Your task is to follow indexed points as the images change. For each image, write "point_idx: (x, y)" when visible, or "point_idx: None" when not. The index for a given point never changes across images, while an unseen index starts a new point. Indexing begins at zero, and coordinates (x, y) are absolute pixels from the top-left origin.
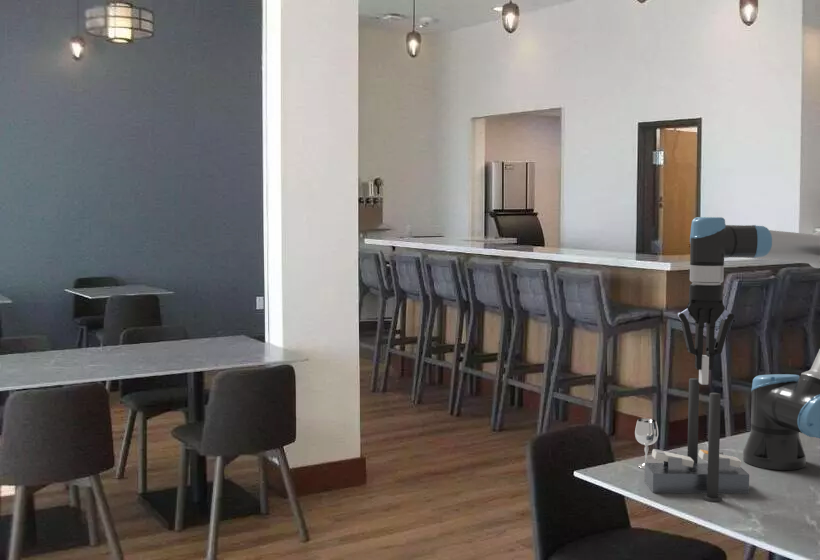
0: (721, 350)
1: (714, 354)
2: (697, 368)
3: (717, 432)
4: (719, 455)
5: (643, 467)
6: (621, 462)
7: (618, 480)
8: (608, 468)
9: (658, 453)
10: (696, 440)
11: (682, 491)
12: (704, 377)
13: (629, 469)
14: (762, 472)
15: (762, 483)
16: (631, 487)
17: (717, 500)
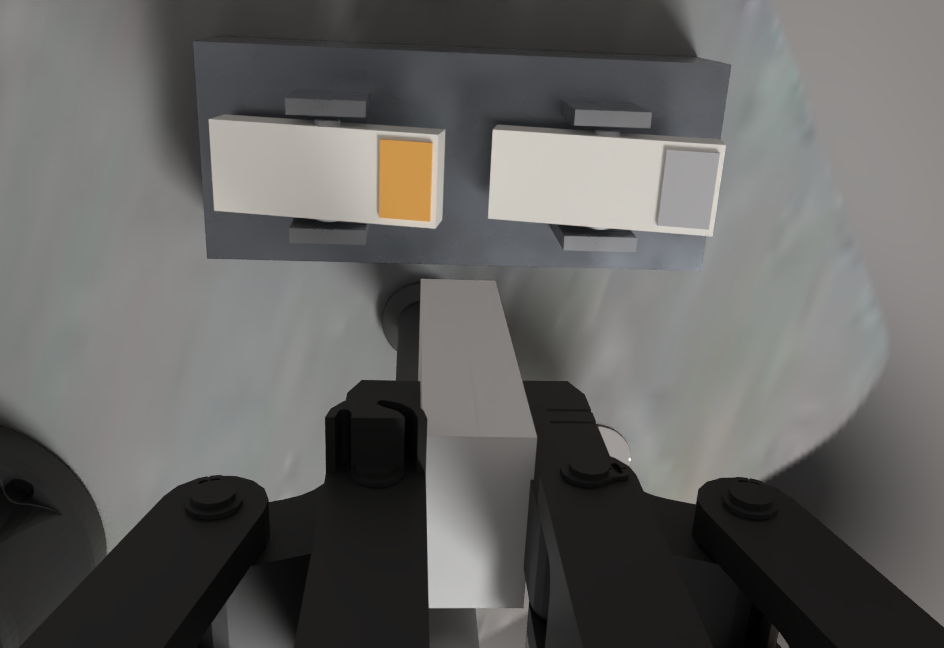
0: (161, 516)
1: (330, 429)
2: (568, 389)
3: None
4: (329, 168)
5: (612, 438)
6: None
7: (791, 254)
8: (770, 432)
9: (711, 145)
10: (410, 375)
11: (554, 51)
12: (473, 306)
13: (680, 419)
14: (57, 386)
15: (100, 211)
16: (770, 145)
17: None
